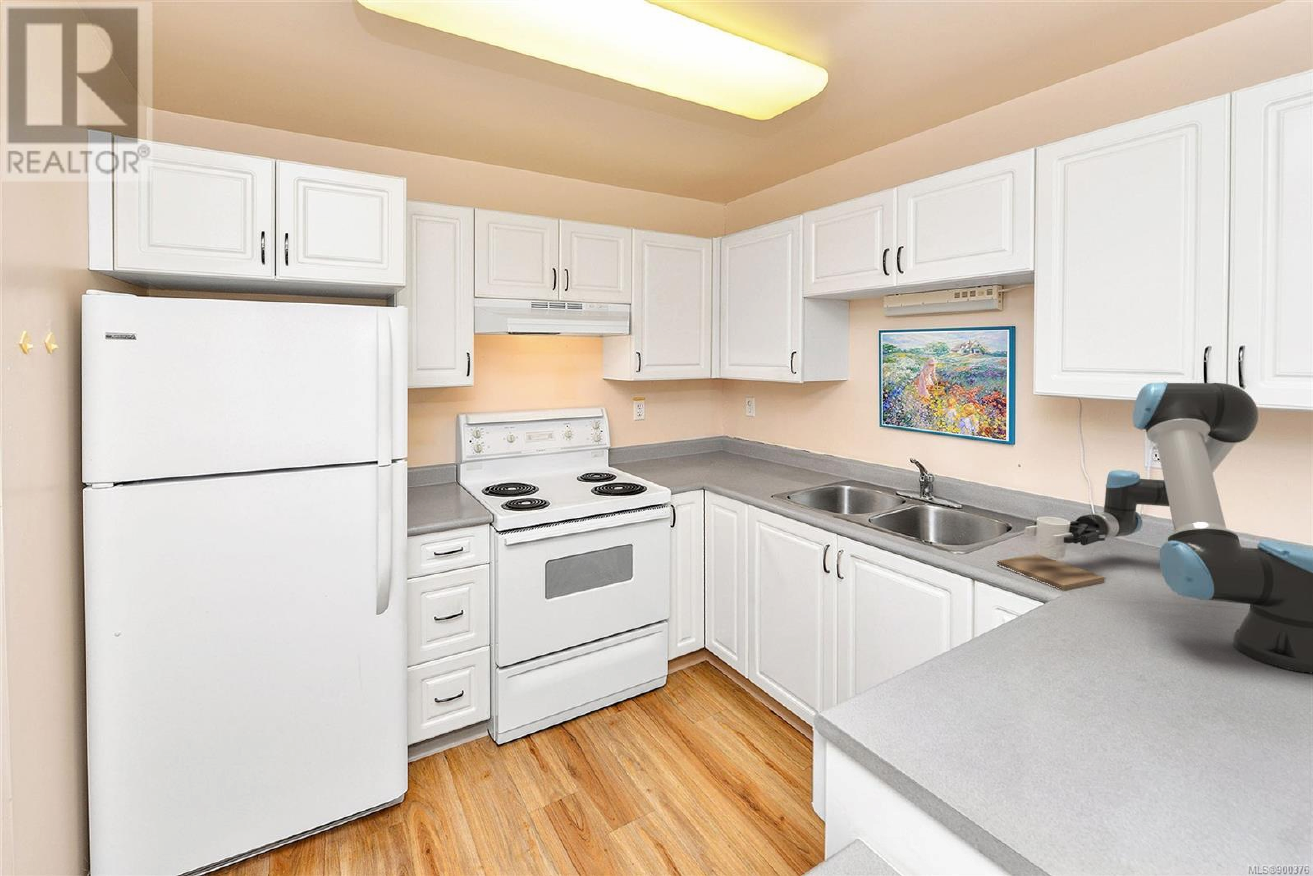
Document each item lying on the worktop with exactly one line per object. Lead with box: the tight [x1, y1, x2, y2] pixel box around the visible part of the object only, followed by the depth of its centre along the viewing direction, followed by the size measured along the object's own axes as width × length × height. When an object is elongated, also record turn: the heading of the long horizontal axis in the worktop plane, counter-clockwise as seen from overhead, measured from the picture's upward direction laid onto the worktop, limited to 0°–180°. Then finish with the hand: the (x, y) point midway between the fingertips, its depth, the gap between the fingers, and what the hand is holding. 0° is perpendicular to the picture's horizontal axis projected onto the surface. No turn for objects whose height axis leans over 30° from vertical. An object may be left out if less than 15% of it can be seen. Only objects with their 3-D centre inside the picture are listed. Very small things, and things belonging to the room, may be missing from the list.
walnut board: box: [996, 553, 1106, 591], centre depth 171 cm, size 20×16×2 cm
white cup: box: [1035, 516, 1071, 559], centre depth 170 cm, size 8×8×10 cm
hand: (1039, 536), depth 168 cm, fingers closed on white cup, 8 cm apart
